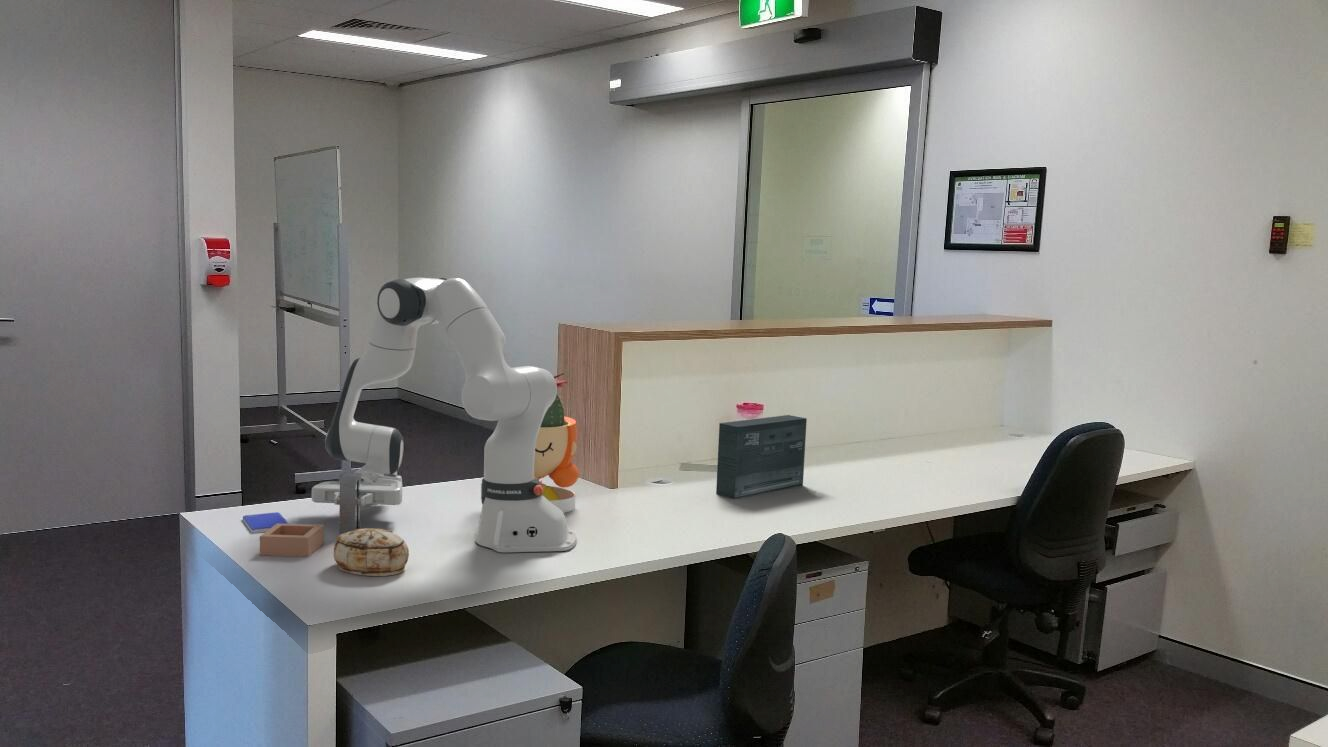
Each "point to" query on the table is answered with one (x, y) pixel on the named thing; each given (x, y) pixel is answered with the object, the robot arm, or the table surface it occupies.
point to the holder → (291, 540)
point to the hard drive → (263, 521)
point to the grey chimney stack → (349, 502)
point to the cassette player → (760, 455)
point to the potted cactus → (557, 454)
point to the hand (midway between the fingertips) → (348, 501)
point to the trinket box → (371, 552)
